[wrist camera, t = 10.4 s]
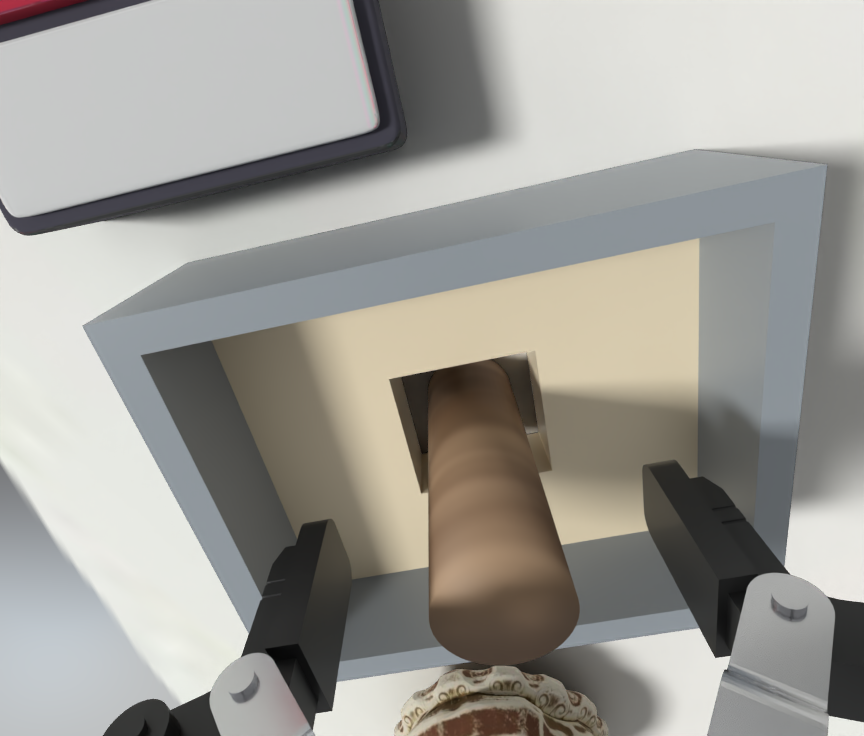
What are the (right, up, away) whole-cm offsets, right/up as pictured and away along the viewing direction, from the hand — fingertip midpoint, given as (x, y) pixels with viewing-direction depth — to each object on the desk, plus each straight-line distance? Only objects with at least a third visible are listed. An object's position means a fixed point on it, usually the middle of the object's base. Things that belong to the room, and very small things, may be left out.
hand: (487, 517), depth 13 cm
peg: (0, +3, +7) cm, 7 cm away
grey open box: (0, +3, +7) cm, 7 cm away
